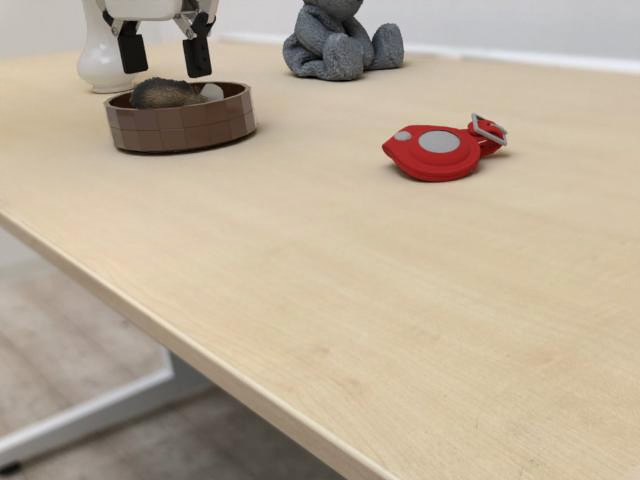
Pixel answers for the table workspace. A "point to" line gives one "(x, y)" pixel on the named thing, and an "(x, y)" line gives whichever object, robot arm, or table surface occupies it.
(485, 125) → the tracker holder
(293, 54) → the koala plush
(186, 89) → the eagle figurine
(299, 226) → the table surface
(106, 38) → the flower vase
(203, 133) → the bowl
